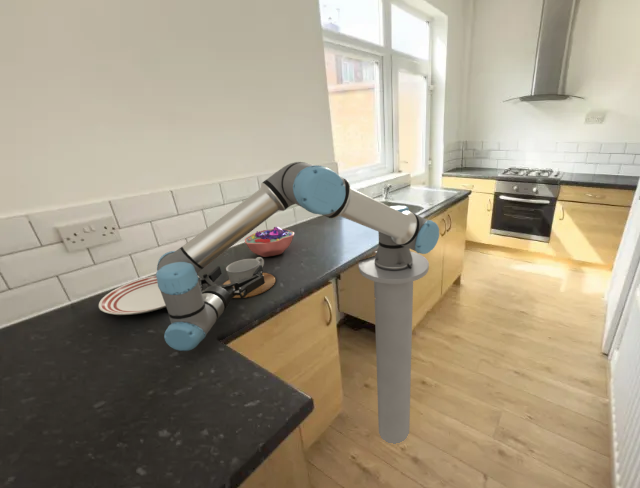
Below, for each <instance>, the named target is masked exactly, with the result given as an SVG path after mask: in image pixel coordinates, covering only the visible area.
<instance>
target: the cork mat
mask: <svg viewBox="0 0 640 488" xmlns="http://www.w3.org/2000/svg"><path fill="white" fill-rule="evenodd" d="M262 275H263V276H264V280H265V283H264V284H263V285H261V286H259V287H258V288H256V289H255V290H253V291H251V292H250V293H248V294H247V295H246V296H245V297H244V298H251V297H256V296H259V295H260V294H264V293H265V292H267V291H268V290H270V289H271V288H273V287H274V286H275V284H276V277H275V276H274V275H273V274H271V273H269V272H263V273H262ZM230 283H231V282H230V280H229V279H228V280H226V281H225V282H223V283H222V284H223V285H225V284H230ZM233 288H234V289H235V287H234V286H233ZM244 298H243V299H244ZM232 299H241V298H240V295H235V296H234V297H233V298H232Z"/></svg>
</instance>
